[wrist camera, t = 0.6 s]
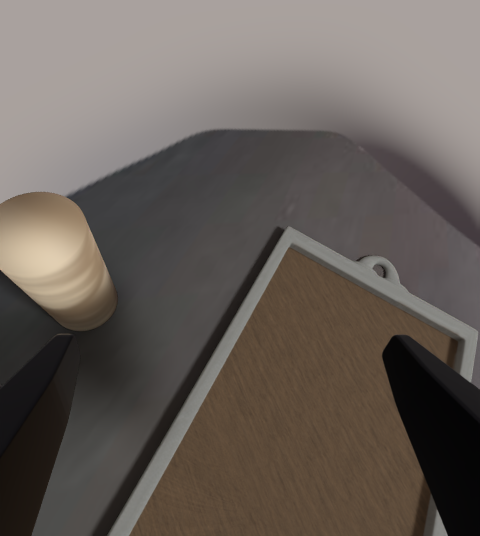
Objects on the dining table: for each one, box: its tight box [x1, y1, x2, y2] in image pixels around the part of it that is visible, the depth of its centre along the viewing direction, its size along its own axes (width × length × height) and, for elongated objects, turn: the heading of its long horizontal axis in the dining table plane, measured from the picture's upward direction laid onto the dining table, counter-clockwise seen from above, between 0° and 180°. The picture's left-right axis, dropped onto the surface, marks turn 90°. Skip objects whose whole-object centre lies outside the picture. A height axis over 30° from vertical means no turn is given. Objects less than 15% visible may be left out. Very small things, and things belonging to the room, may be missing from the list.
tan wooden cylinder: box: [0, 192, 118, 331], centre depth 20 cm, size 5×5×10 cm
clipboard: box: [107, 226, 478, 536], centre depth 24 cm, size 19×2×30 cm
